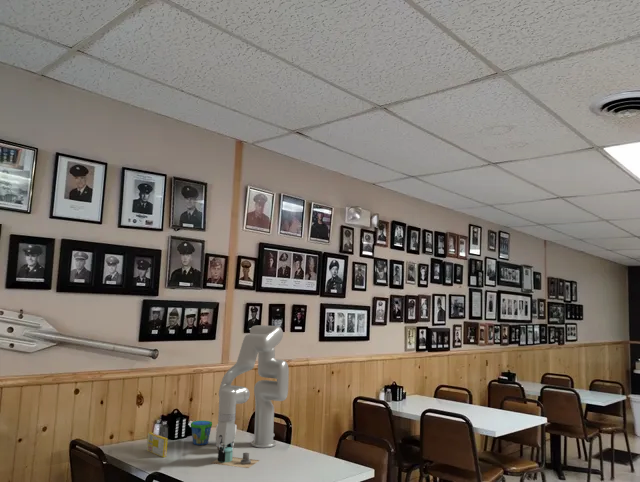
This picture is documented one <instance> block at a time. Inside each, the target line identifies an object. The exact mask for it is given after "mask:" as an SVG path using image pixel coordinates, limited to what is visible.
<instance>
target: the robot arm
mask: <svg viewBox="0 0 640 482" xmlns="http://www.w3.org/2000/svg"><path fill="white" fill-rule="evenodd" d="M283 336H284V331H283V329H282V327H280V326H277V325H264V324H263V325H262V324H261V325H258V324H257V325H252V327H250V330H249V333H248V334H247V335H245V336H244V338H243V340H242V343H241V347H240V350H239V354H238V357H237V360H236V362H235V363H234V365H232V366H231V367H229V369H228V370H227V371H226V372H225V374H224V376H223V377H222V380H221V383H220V386H219V389H218V390H219V391H218V401H219V402H218V418H217V421H218V422H217V424H216V425H217V431H215V432H216V433H215V445H216V449H217V459H218V461H219V462H225V447H231V448H233V449H234V446H233V443H234V444H235V440H236V439H235V438H236V434H235V424H236V412H237V411H236V410H237V405H238V404H245V403H246V402H247V401H248V400H249V398H250V396H251V395H250V394H251V393H250V390H249V388H248V387H245V386H239V385H232V383H233V381H234V380H235V379H236V378H237V377H238V376H240V375H243V374H244V373H247V372H249V371H251V370H253V369H254V368H255V364H256V360H257V373H258V376H260V377H261V378H265V379H262V380H258V381H257V382H255V384H254V387H253V392H254V398H255V399H254V401H255V403H254V405H255V407H254V409H255V410H254V411H255V415H254V434H253V435H254V437H253V440H251V442H250V446H252V447H254V448H263V449H266V448H272V447H275V446H276V445H277V441H276V440H274V437H275V433H274V428H275V427H274V426H275V425H274V422H275V407H274V404H273V401H275V402H284V401H285V400H286V399H287V398H288V394H289V381H290V380H289V375H290V369H289V365H288V361H286V360H283V359H279V358H278V359H276V347H277V345H278V344H280V343H281V341H282V340H283ZM266 378H267V379H266ZM268 379H275V380H268ZM234 439H235V440H234ZM221 443H224V444H223V445H222V444H221ZM221 446H223V448H222V447H221Z"/></svg>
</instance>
